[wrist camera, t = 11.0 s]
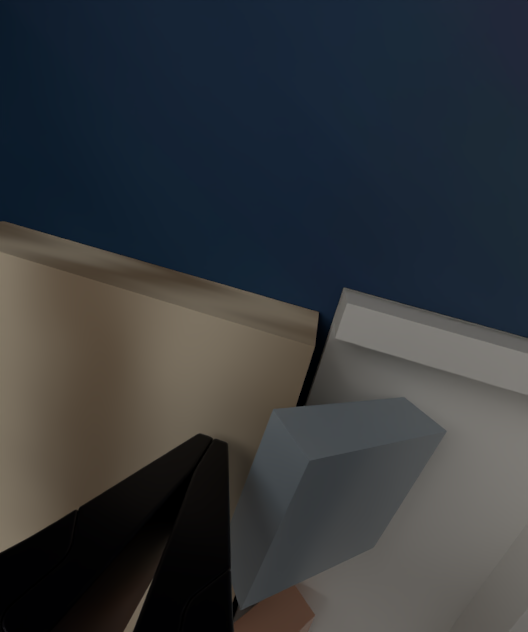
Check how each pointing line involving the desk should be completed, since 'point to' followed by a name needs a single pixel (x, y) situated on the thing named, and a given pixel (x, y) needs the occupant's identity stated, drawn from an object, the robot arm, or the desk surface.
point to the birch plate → (127, 373)
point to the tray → (434, 474)
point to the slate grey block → (324, 489)
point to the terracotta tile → (278, 614)
